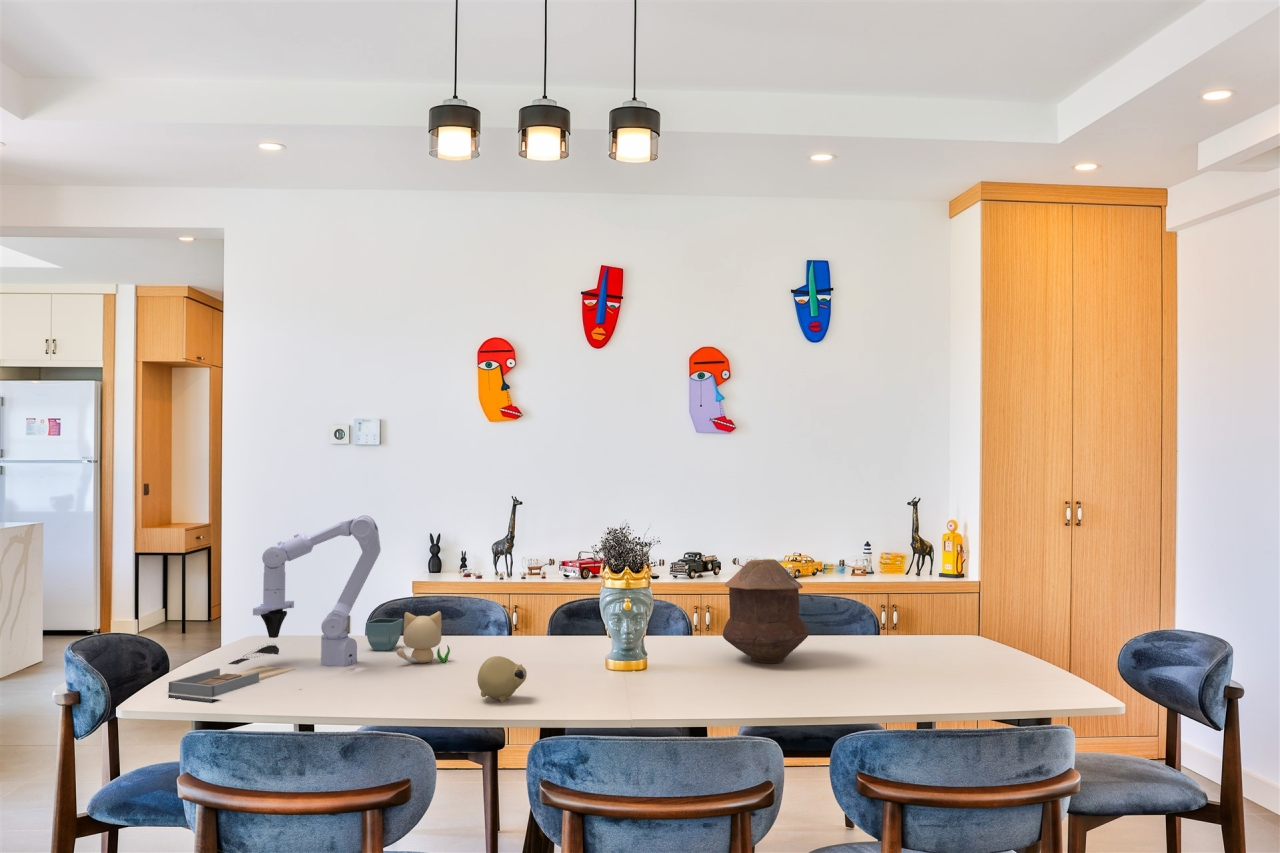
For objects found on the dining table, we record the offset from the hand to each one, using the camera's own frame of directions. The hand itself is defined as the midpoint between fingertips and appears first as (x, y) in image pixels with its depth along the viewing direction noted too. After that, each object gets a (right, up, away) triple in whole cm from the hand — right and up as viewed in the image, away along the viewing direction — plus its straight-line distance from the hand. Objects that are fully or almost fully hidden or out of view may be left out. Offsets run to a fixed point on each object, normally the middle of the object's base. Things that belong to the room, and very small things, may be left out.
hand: (273, 637), depth 249 cm
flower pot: (+23, -11, +29) cm, 39 cm away
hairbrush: (-11, -10, +9) cm, 18 cm away
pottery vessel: (+141, -11, +14) cm, 142 cm away
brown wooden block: (-3, -8, -21) cm, 23 cm away
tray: (-5, -8, -25) cm, 26 cm away
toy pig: (+69, -8, -30) cm, 76 cm away
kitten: (+40, -10, +11) cm, 43 cm away
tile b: (-4, -8, -27) cm, 28 cm away
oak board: (0, -9, -10) cm, 13 cm away
